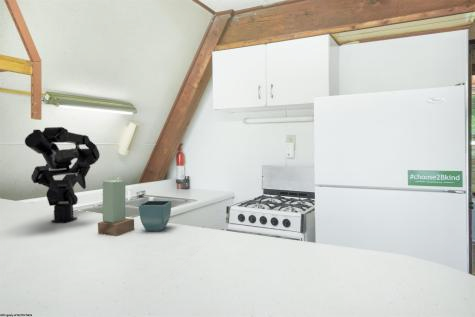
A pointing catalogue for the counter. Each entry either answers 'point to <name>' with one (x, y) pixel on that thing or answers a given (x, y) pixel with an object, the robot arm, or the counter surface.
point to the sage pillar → (113, 201)
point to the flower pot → (155, 214)
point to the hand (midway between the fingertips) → (72, 190)
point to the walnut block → (116, 227)
